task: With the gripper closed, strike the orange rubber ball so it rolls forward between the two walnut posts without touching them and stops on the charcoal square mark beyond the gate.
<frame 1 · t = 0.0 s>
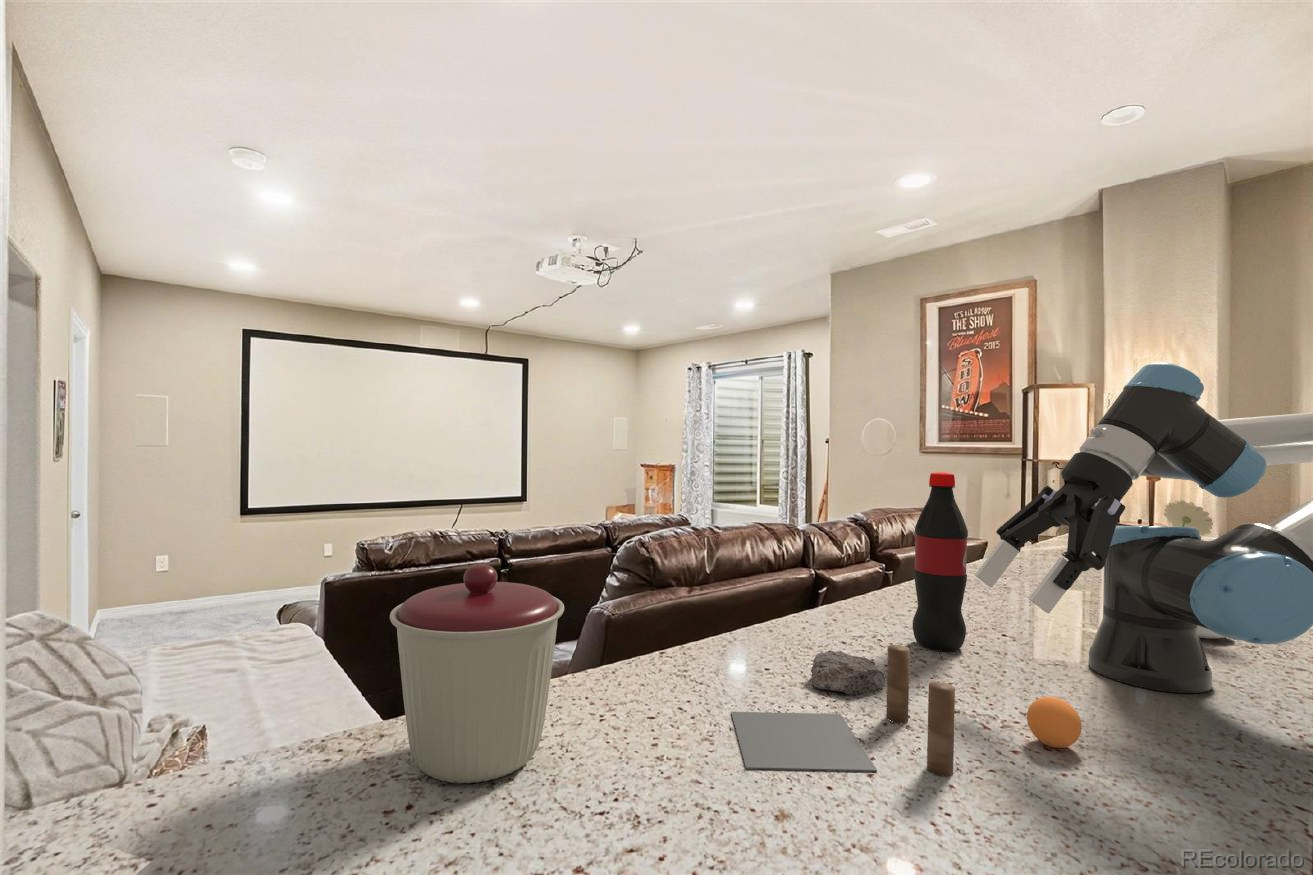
hand: (1008, 593, 87), 15 cm above the countertop, tool tilted 35°, fingers open, 13 cm apart
canister: (477, 761, 71), on the countertop
rock: (846, 687, 95), on the countertop
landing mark: (797, 739, 77), on the countertop
ball: (1053, 721, 77), on the countertop
post 1: (897, 719, 83), on the countertop
cola bottle: (938, 647, 113), on the countertop
flower in vase: (1188, 634, 123), on the countertop
post 2: (939, 770, 70), on the countertop
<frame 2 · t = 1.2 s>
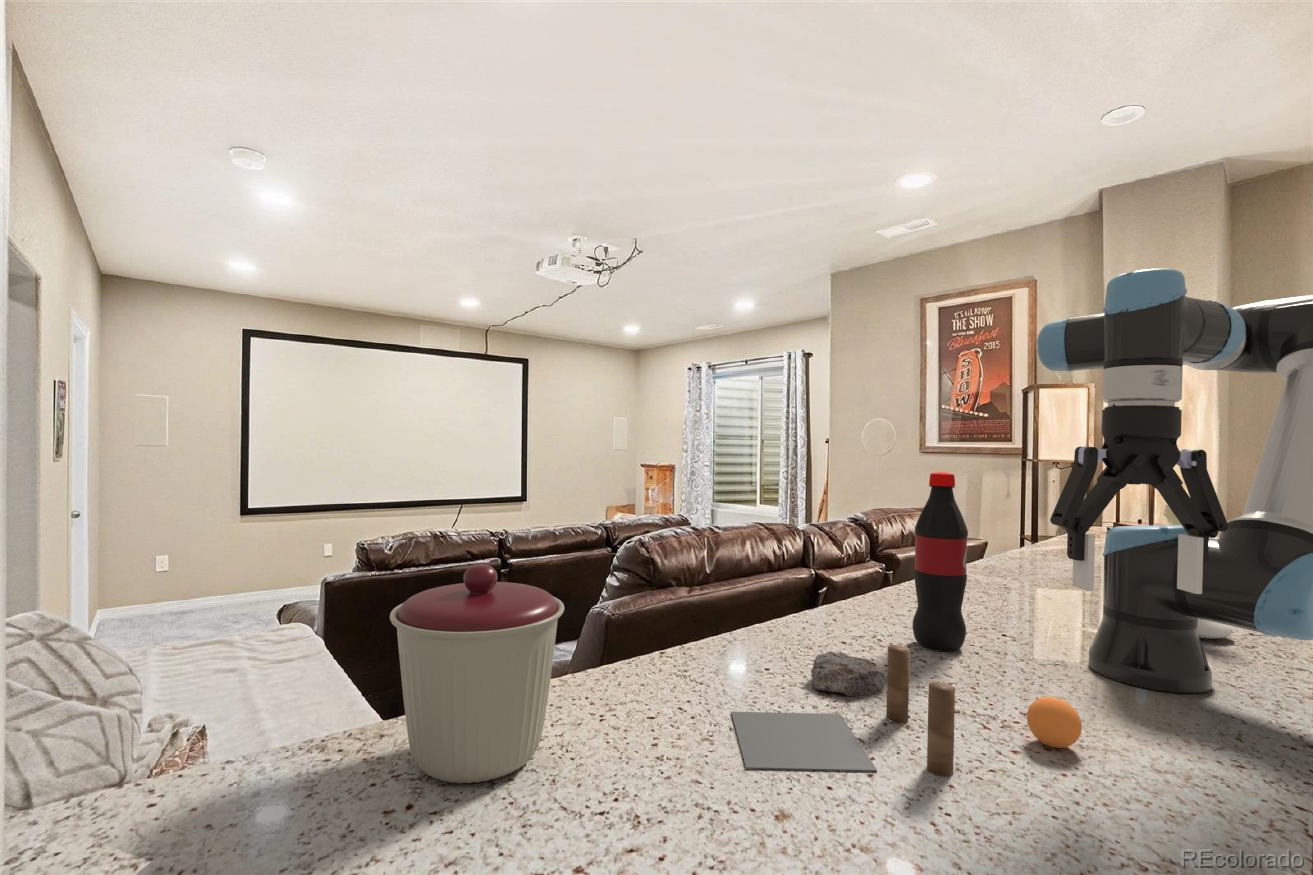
hand: (1135, 590, 77), 18 cm above the countertop, tool pointing down, fingers open, 12 cm apart
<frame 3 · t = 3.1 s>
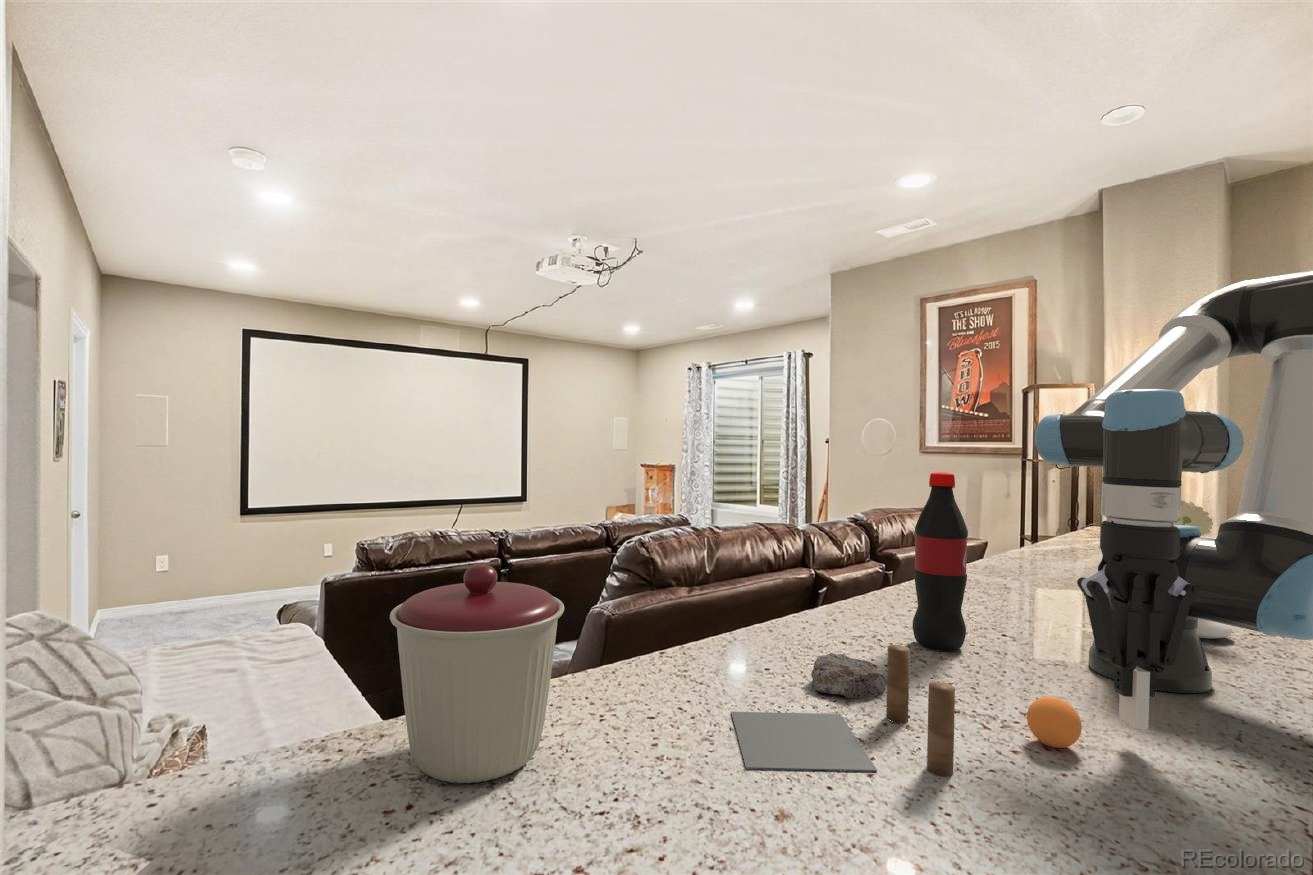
hand: (1133, 723, 76), 3 cm above the countertop, tool pointing down, fingers closed
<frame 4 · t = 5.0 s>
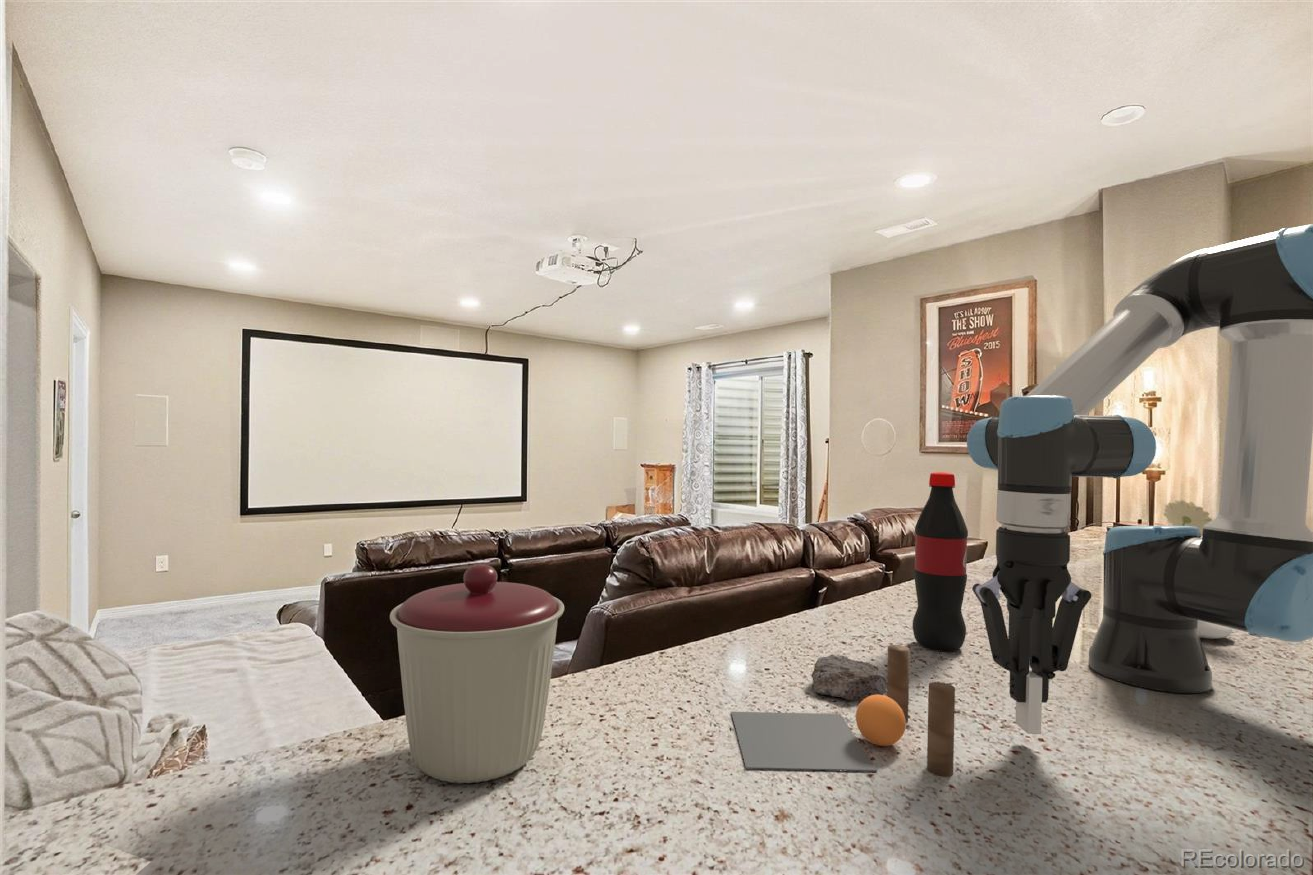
hand: (1028, 728, 77), 2 cm above the countertop, tool pointing down, fingers closed
ball: (880, 719, 76), on the countertop
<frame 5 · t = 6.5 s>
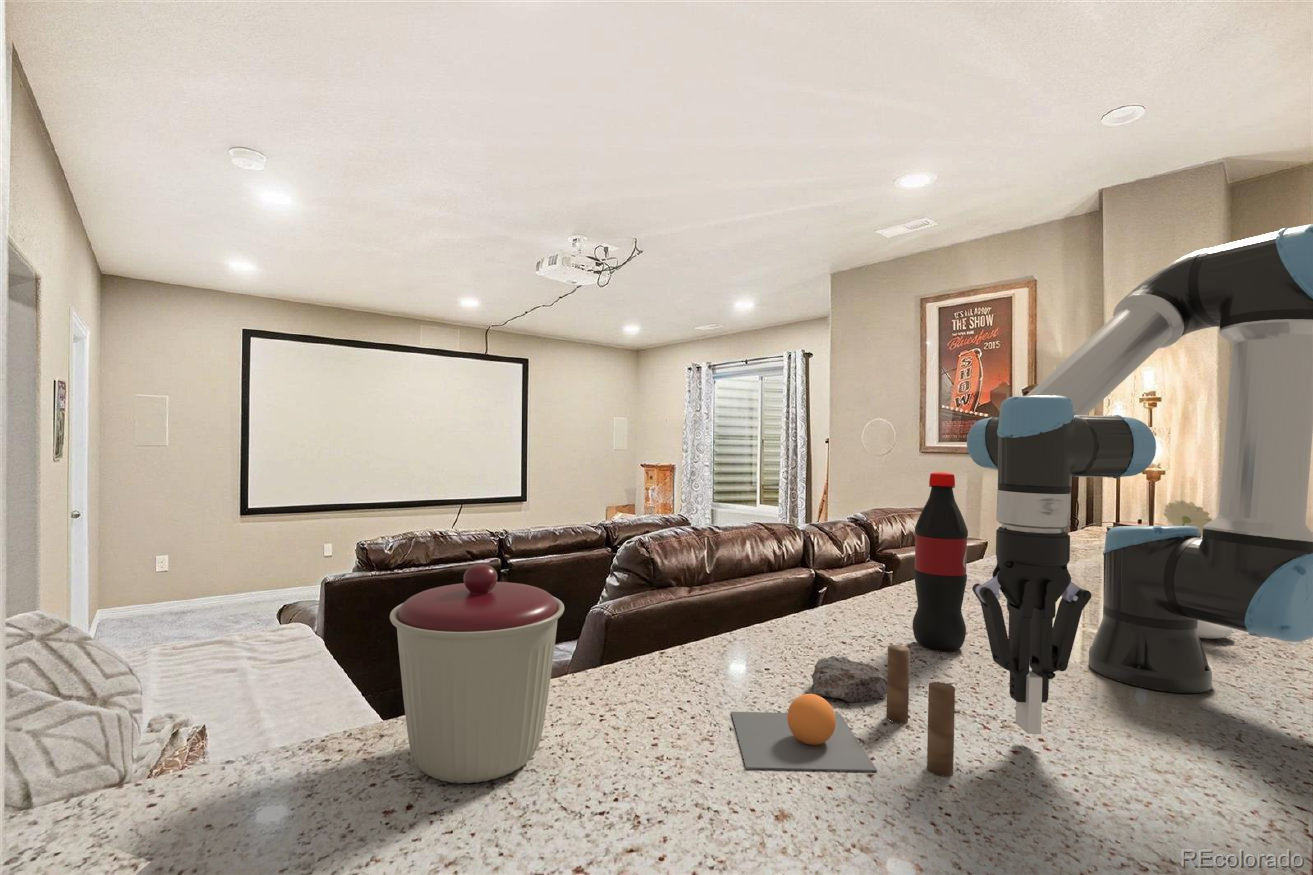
hand: (1028, 728, 77), 2 cm above the countertop, tool pointing down, fingers closed
ball: (811, 719, 76), on the countertop
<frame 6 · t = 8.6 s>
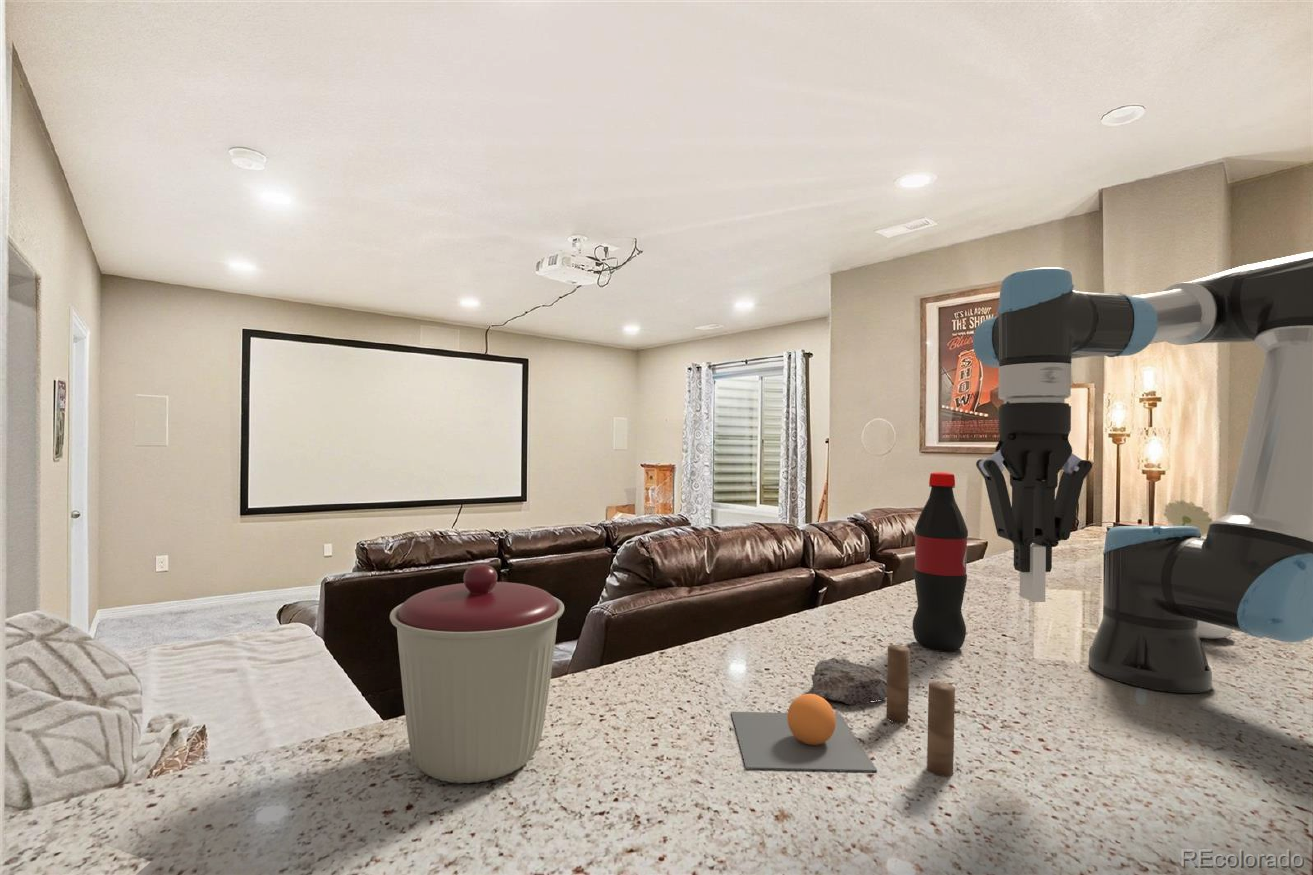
hand: (1032, 598, 78), 17 cm above the countertop, tool pointing down, fingers closed
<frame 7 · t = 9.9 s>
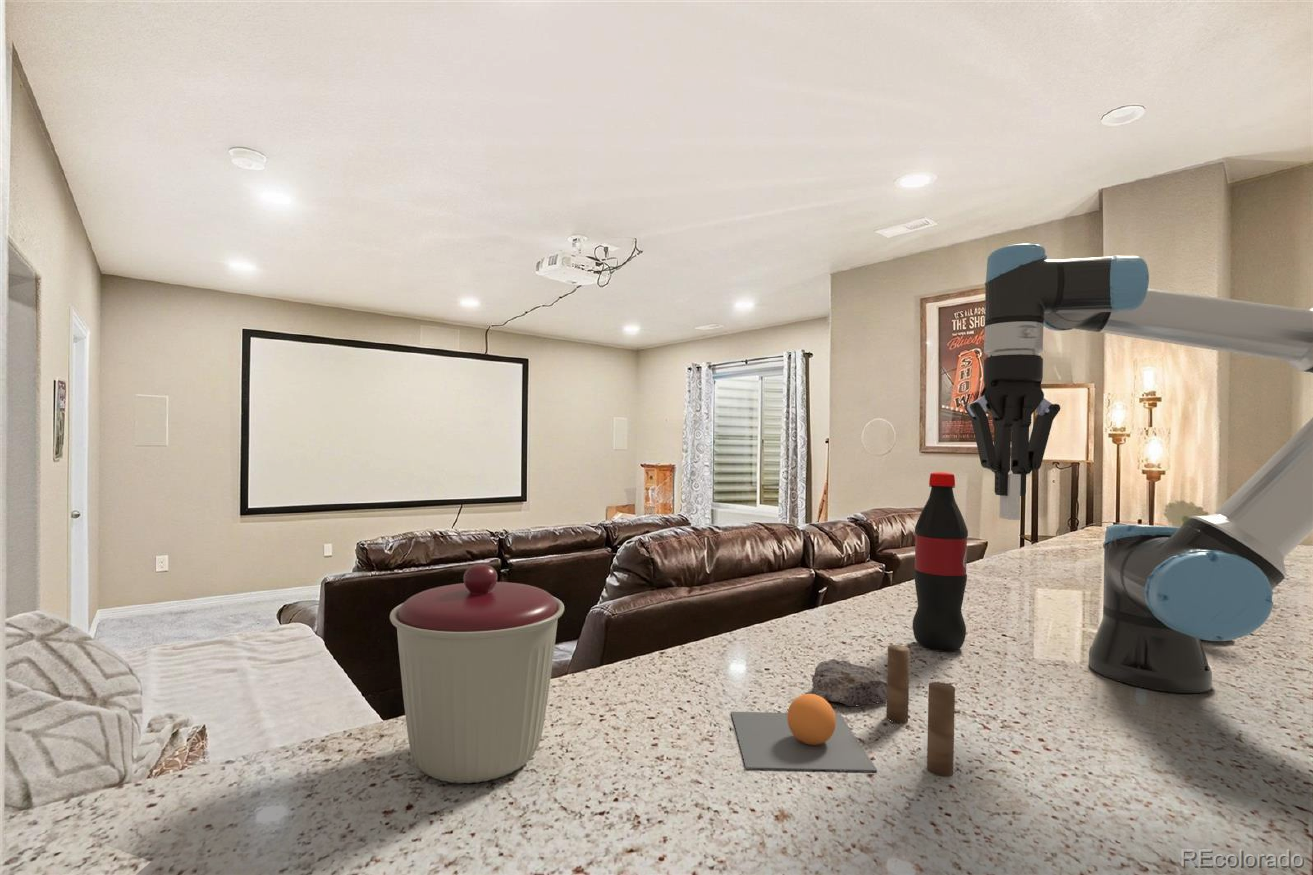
hand: (1009, 518, 94), 24 cm above the countertop, tool pointing down, fingers closed
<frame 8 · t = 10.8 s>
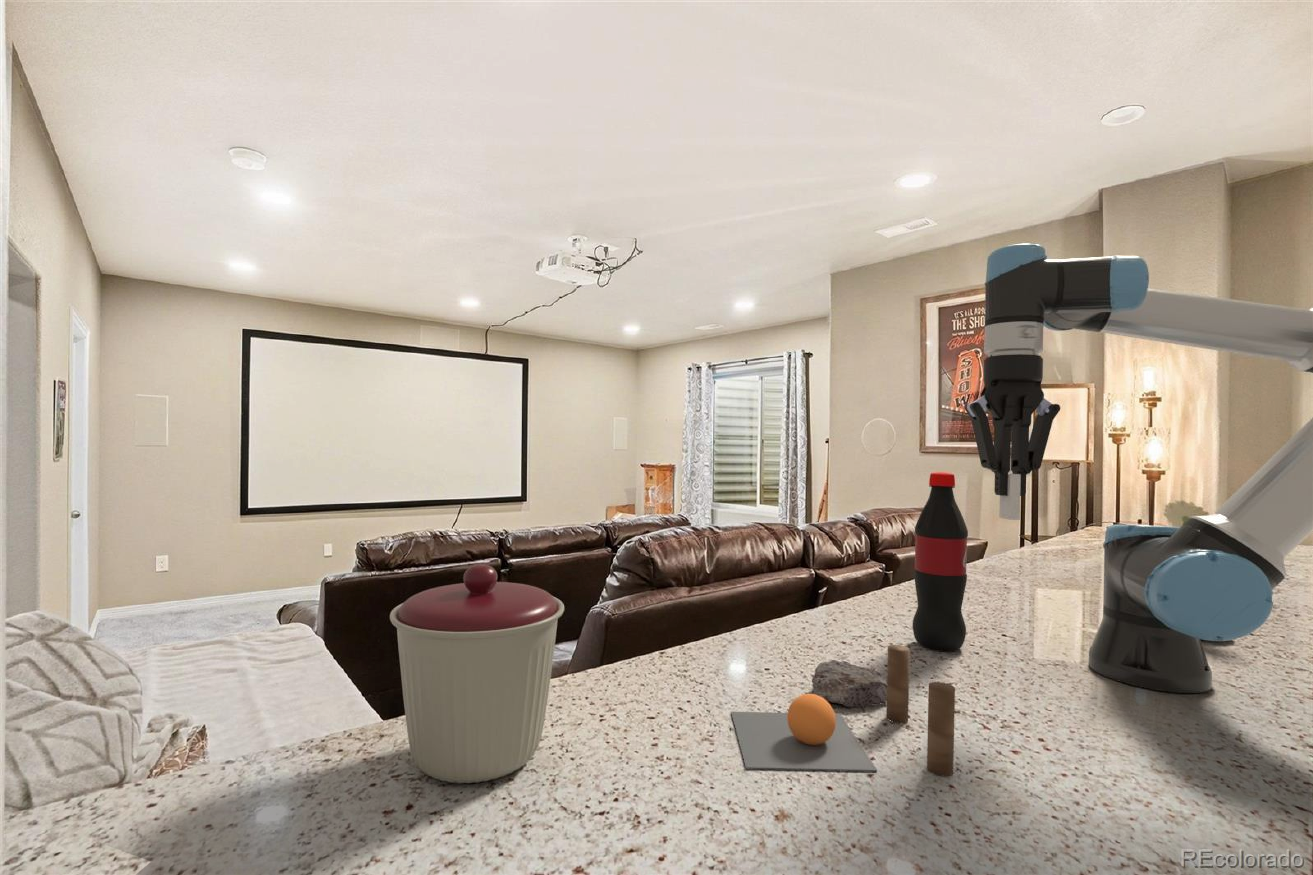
hand: (1009, 518, 94), 24 cm above the countertop, tool pointing down, fingers closed
at the end: ball 1.5 cm from the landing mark (horizontally); ball never touched post 2; ball never touched post 1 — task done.
